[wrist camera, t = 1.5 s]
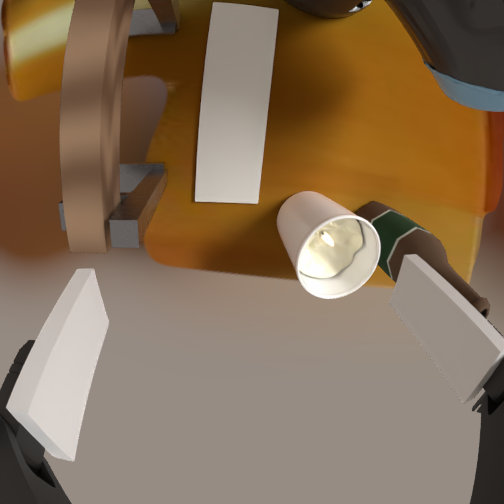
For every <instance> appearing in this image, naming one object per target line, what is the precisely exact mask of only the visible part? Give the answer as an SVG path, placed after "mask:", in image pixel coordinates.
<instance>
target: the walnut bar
mask: <svg viewBox="0 0 504 504" xmlns="http://www.w3.org/2000/svg"><path fill="white" fill-rule="evenodd" d="M134 3H135V0H75V4H74V9H73V13H72V17H71V22H70V27H69V33H68V38H67V44H66V51H65V58H64V66H63V75H62V86H61V101H60V169H61V184H62V196H63V206H64V214H65V222H66V229H67V236H68V242H69V247H70V253H103V254H107V253H108V251H109V249H110V248H111V246H112V242H111V233H110V222H109V220H110V219H111V217H112V216H113V215H114V214H115V212H116V211H117V210H118V209H119V207H120V206H121V198H120V151H119V150H120V118H121V100H122V86H123V76H124V66H125V58H126V50H127V43H128V36H129V30H130V24H131V18H132V13H133V8H134Z"/></svg>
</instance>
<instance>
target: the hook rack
mask: <svg viewBox="0 0 504 504" xmlns="http://www.w3.org/2000/svg"><path fill="white" fill-rule="evenodd" d="M148 1H149V3H150V5H151V7H152V9H142V10H133V13H132V18H131V24H130V30H129V36H128V37H139V36H156V35H175V31H176V29H179V26H180V20H181V13H180V8H179V3H178V0H148ZM166 186H167V169H164V163H120V198H121V206H120V207H119V209H118V210H117V211H116V212H115V214H114V215H113V216H112V217H111V219H110V220H109V222H110V233H111V242H112V247H118V248H119V247H120V248H123V247H124V248H139V247H140V244H141V242H142V240H143V237H144V235H145V232H146V230H147V228H148V225H149V223H150V221H151V219H152V216H153V214H154V212H155V210H156V207H157V205H158V203H159V201H160V199H161V196H162V194H163V192H164V190H165V188H166ZM59 211H60V220H61V227H62V230H63V231H65V230H67V229H66V222H65V214H64V206H63V200H62V201H61V202H60V203H59Z"/></svg>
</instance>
